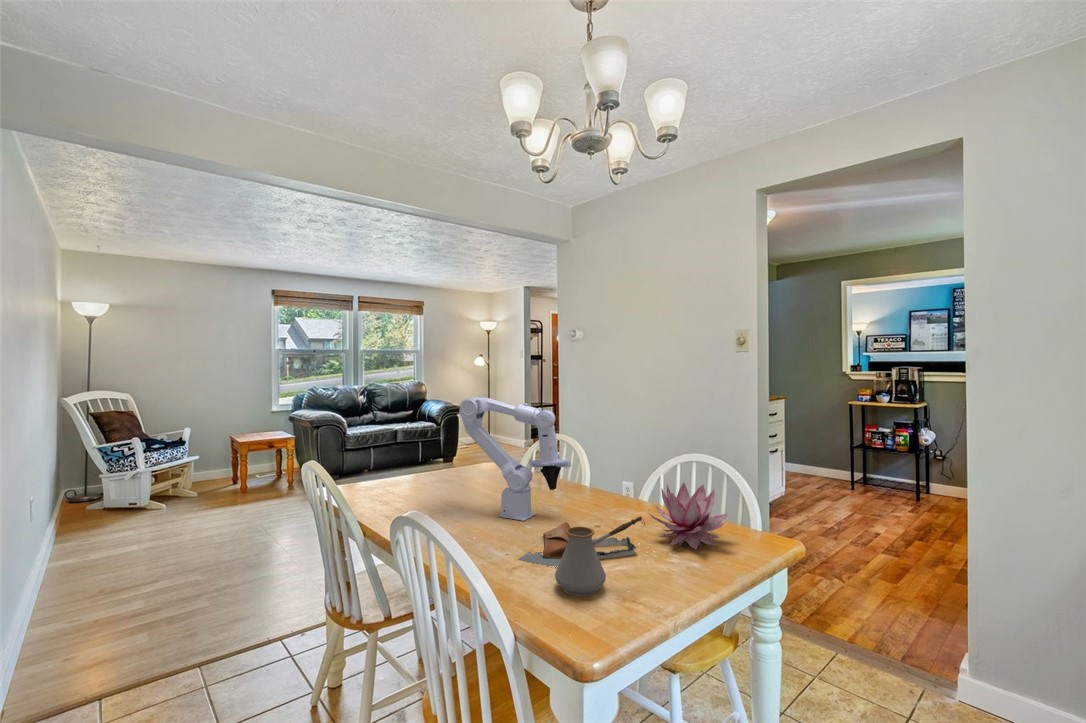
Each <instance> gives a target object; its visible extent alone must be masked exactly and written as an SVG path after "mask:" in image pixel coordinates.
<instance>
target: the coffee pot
mask: <svg viewBox="0 0 1086 723" xmlns="http://www.w3.org/2000/svg"><path fill="white" fill-rule="evenodd" d="M637 522H641V524H642V525H643V526H645V525H646V522H645V521H644V519H643V517H642V516H638V517H636V518H635V519H631V521H628V522H625V523H623V524H621V525H619V526H618V527H616V528H614V529H612V530H611V531H609V532H608V533H606V534H604V535H602V536H599V537H598V538H595V539H596V540H594V539H593V536H594V534H595V531H594V530H593V529H592V528H590V527H585V526H572V527H570V528H569V529H567V530H566V534H567V535H568V538H569V541H568V543H567V546H566V548H565V551H564V553H563V555H562V558H561V560H560V563H559V565H558V567H557V568H556V570H555V574H554V577H555V581H556V583H557V585H559V587H560V588H562V589H563V591H564V590H565V591H566V592H565V591H564V592H565V593H567V592H568V593H567V594H569V593H570V594H569V595H571V594H572V595H571V596H576V595H577V596H576V597H587V596H591V595H594V594H595V593H597V591H598V590H600V589H601V588H602V587H603V585H604V584H605V582H606V578H607V576H606V575H607V574H606V572H605V570H604V567H603V565H602V562H601V559H599V558H598V555H597V553H596V552H597V551H596V548H595V547H594V545H595V544H597V543H599V542H601V541H602V540H604V539H607V538H610V537H613V536H614V535H616V534H619V533H621V532H623V531H625V530H627V529H628V528H630V527H631V526H632V525H635V526H636V523H637ZM591 539H592V540H594V541H591Z"/></svg>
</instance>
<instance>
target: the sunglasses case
mask: <svg viewBox="0 0 1086 723" xmlns="http://www.w3.org/2000/svg"><path fill="white" fill-rule="evenodd" d="M569 528H571V526H570V524H569V523H568V522H566V521H564V522H563V523H560V525H558V526H557V527H554V528H552V529H551V530H548V531H546V532H544V533H543V538H544V550H543V556H544V557H547V558H553V559H561V558H562V555H563V553H564V551H565V548H566V546H567V543H568V541H569V538H568V535H567V534H566V530H567V529H569Z"/></svg>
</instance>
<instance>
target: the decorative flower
mask: <svg viewBox="0 0 1086 723" xmlns="http://www.w3.org/2000/svg"><path fill="white" fill-rule="evenodd" d="M665 492H666V493H665ZM715 492H716V491H715V489H713V490H711V492H710V493H709V494H708V496H707V494H706V493H707V492H706V488H705V484H702V485H700V486H699V488H697V490H695V492H694V493H693V494H692V495H691V497H690V494H689V491H688V488H687V485H686V483H685V482H682V484H681V485H680V488H679V490H678V493H677V495H676V496H675V494H674V493H673V492H672V493H671V490H670V488H669V485H668V483H666V491H665V490H664V489H663V488H661V498H662V500H663V503H664V506H665V509H666V510H667V512H668V514H667V513H666V512H665V511H663V509H661V508H659V506H657V505H656V504H654V507H655V508H656V510H657V512H658V513H659V514H660V515H661V516H662V518H664V519H665V520H667V521H668V522H666V521H664V520H661V519H659V518H658V517H655V516H654V515H652V514H651V513H650V512H647V514H648V515H649V516H650V517H651V518H652V519H653V520H655V521H657V522H659V523H660V524H662V525H664V527H666V528H667V529H661V530H662V531H664V532H666V534H662V535H659V536H657V538H667V537H671V536H674V537H673V539H672V541H671V542H670V543H669V545H670V546H671V545H673V546H674V545H676V544H678V546H681V545H682V544H683V543H684V542H686V543H687V544H688V545H689V547H690V548H693V549H695V550H697V549H698V547H699V546H701V547H702V546H703V545H702V543H704V544H706V545H710V546H714V547H716V546H718V545H717V543H716V542H714V540H712V539H721V538H720V537H719V536H717V535H715V534H712V533H710V532H712V531H713V532H714V531H715V530H718V529H719V528H721V527H723V526H724V525H725V524H726V522H724V520H725V519H727V518H728V516H729V513H728V512H727V513H722V514H719V515H714V516H710V515H711V514H712V513H711V512H712V510H713V509H714V508H713V507H714V503H715ZM667 532H669V533H667Z"/></svg>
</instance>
